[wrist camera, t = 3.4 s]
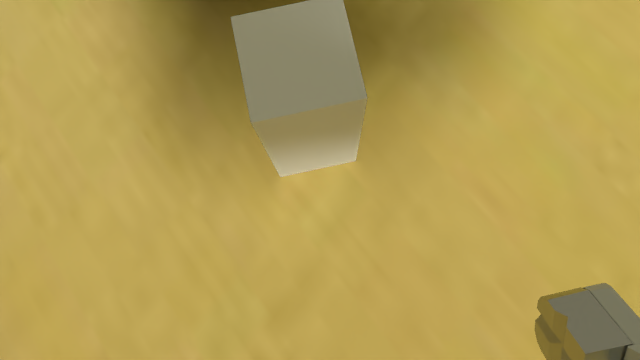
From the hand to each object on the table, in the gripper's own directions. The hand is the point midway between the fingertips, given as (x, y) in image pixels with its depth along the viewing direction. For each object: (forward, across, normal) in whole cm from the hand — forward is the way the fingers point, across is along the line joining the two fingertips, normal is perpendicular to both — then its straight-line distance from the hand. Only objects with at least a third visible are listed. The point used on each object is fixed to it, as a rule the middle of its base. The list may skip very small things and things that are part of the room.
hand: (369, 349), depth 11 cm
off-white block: (+18, 0, +4) cm, 18 cm away
